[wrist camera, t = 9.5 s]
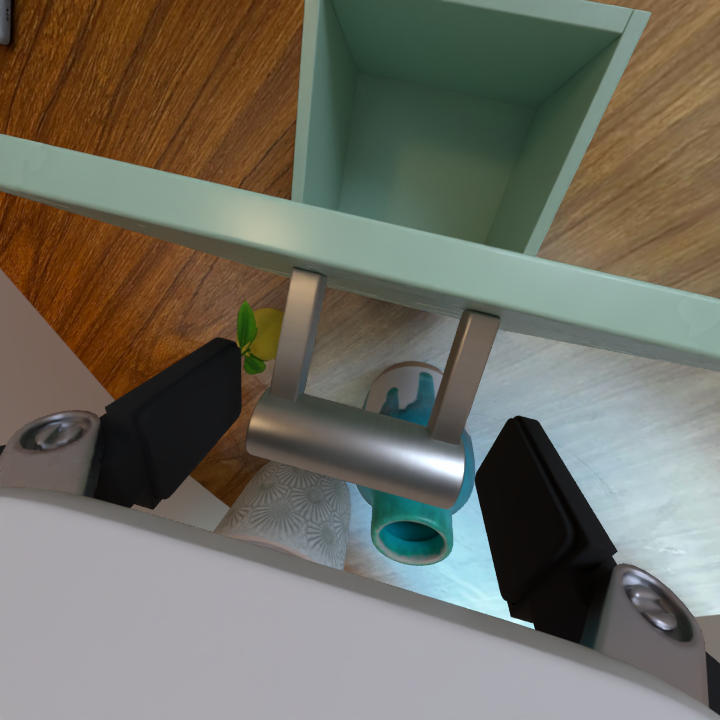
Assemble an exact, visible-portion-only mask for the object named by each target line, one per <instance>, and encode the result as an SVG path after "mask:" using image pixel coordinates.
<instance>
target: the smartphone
mask: <svg viewBox="0 0 720 720" xmlns="http://www.w3.org/2000/svg"><path fill="white" fill-rule="evenodd" d="M10 29H11V0H0V44H3V45H7V44H9V42H10Z"/></svg>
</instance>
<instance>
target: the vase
mask: <svg viewBox="0 0 720 720" xmlns="http://www.w3.org/2000/svg"><path fill="white" fill-rule="evenodd" d="M442 376H443V372H441V371H440V370H439V369H437V368H435V367H434V366H432V365H429V364H426V363H422V362H416V361H407V362H401V363H398V364H395V365H392V366H391V367H389V368H387V369H386V370H384V371H383V372H382V373H381V374H380V375H379V376H378V377H377V378H376V379H375V381H374V382H373V384H372V385H371V387H370V390H369V392H368V394H367V397H366V399H365V402H364V405H363V408H362V409H364V410H367V411H371V412H375V413H379V414H382V415H386V416H390V417H393V418H397V419H401V420H405V421H408V422H412V423H416V424H420V425H423V426H427V425H428V421H429V418H430V415H431V412H432V409H433V405H434V402H435V399H436V396H437V393H438V389H439V386H440V383H441V380H442ZM461 438H462V440H463V443H464V447H465V457H466V463H465V474H464V480H463V484H462V488H461V491H460V494H459V497H458V499H457V501H456V503H455V504H454V505H453V507H451V508H450V509H442V508H439V507H435V506H432V505H428V504H425V503H421V502H417V501H414V500H410V499H407V498H403V497H400V496H396V495H393V494H389V493H386V492H382V491H379V490H375V489H371V488H368V487H364V486H361V485H357V484H356V486H357V488H358V490H359V492H360V493H361V495H362V496H363V498H364V499H365V500H366V501H367V502H368V503H369V504H370V505H371V506H372V521H371V538H372V541H373V544H374V545H375V547H376V548H377V549H378V550H379V551H380V552H381V553H382V554H383V555H385V556H386V557H388V558H390V559H392V560H394V561H397V562H399V563H403V564H408V565H415V566H423V565H431V564H435V563H438V562H440V561H442V560H444V559H445V558H446V557H447V556H448V555H449V554H450V552H451V550H452V547H453V529H452V515H453V514H454V513H456V512H457V511H458V510H460V509H461V508H462V507H463V506H464V504H465V503H466V502H467V501H468V499H469V497H470V495H471V493H472V490H473V486H474V482H475V460H474V452H473V446H472V441H471V436H470V431H469V427H468V423H467V421H466V424H465V427H464V430H463V433H462V436H461Z"/></svg>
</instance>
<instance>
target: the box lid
mask: <svg viewBox="0 0 720 720" xmlns="http://www.w3.org/2000/svg"><path fill="white" fill-rule="evenodd" d="M0 191H2V192H6V193H9V194H12V195H16V196H19V197H22V198H26V199H29V200H32V201H35V202H39V203H42V204H45V205H49V206H52V207H55V208H59V209H62V210H65V211H69V212H72V213H75V214H78V215H82V216H85V217H88V218H92V219H95V220H98V221H102V222H105V223H108V224H112V225H115V226H118V227H122V228H125V229H128V230H131V231H135V232H138V233H141V234H145V235H148V236H151V237H155V238H158V239H161V240H165V241H168V242H171V243H175V244H178V245H181V246H184V247H188V248H191V249H194V250H198V251H201V252H204V253H208V254H211V255H214V256H218V257H221V258H224V259H227V260H231V261H234V262H237V263H241V264H244V265H247V266H251V267H254V268H257V269H261V270H264V271H267V272H271V273H274V274H277V275H280V276H284V277H288V278H290V283H289V289H288V294H287V300H286V305H285V311H284V316H283V322H282V327H281V332H280V338H279V343H278V349H277V354H276V360H275V365H274V371H273V376H272V382H271V387H269V388H268V389H267V390H266V391H265V392H264V393H263V394H262V396H261V397H260V399H259V401H258V403H257V404H256V406H255V409H254V411H253V413H252V416H251V419H250V422H249V426H248V430H247V435H246V449H247V451H248V453H249V454H251V455H255V456H258V457H262V458H265V459H269V460H272V461H276V462H279V463H283V464H286V465H290V466H294V467H297V468H301V469H304V470H308V471H311V472H315V473H318V474H322V475H325V476H329V477H332V478H336V479H340V480H343V481H347V482H350V483H354V484H357V485H361V486H364V487H368V488H371V489H375V490H379V491H382V492H386V493H389V494H393V495H396V496H400V497H403V498H407V499H410V500H414V501H417V502H421V503H425V504H428V505H432V506H435V507H439V508H442V509H450V508H451V507H453V505H454V504H455V503H456V501H457V499H458V497H459V494H460V491H461V488H462V484H463V480H464V474H465V463H466V457H465V447H464V443H463V440H462V438H461V436H462V433H463V430H464V427H465V424H466V421H467V418H468V415H469V412H470V409H471V407H472V404H473V401H474V398H475V395H476V392H477V389H478V386H479V383H480V380H481V377H482V374H483V371H484V368H485V365H486V363H487V360H488V357H489V354H490V351H491V348H492V345H493V342H494V339H495V336H496V333H497V330H498V329H500V330H504V331H510V332H515V333H520V334H525V335H530V336H536V337H541V338H546V339H551V340H556V341H562V342H567V343H572V344H577V345H582V346H588V347H593V348H598V349H603V350H608V351H613V352H619V353H624V354H629V355H634V356H639V357H645V358H650V359H655V360H660V361H665V362H671V363H676V364H681V365H686V366H691V367H697V368H702V369H707V370H712V371H717V372H720V299H718V298H714V297H710V296H705V295H701V294H696V293H692V292H688V291H683V290H679V289H675V288H670V287H666V286H662V285H657V284H653V283H649V282H644V281H640V280H636V279H631V278H627V277H622V276H618V275H614V274H609V273H605V272H601V271H596V270H592V269H588V268H583V267H579V266H575V265H570V264H566V263H562V262H557V261H553V260H548V259H544V258H540V257H535V256H531V255H527V254H522V253H518V252H514V251H509V250H505V249H501V248H496V247H492V246H487V245H483V244H479V243H474V242H470V241H466V240H461V239H457V238H453V237H448V236H444V235H440V234H435V233H431V232H427V231H422V230H418V229H413V228H409V227H405V226H400V225H396V224H392V223H387V222H383V221H379V220H374V219H370V218H366V217H361V216H357V215H352V214H348V213H344V212H339V211H335V210H331V209H326V208H322V207H318V206H313V205H309V204H305V203H300V202H296V201H292V200H287V199H283V198H278V197H274V196H270V195H265V194H261V193H257V192H252V191H248V190H244V189H239V188H235V187H231V186H226V185H222V184H218V183H213V182H209V181H204V180H200V179H196V178H191V177H187V176H183V175H178V174H174V173H170V172H165V171H161V170H157V169H152V168H148V167H143V166H139V165H135V164H130V163H126V162H122V161H117V160H113V159H109V158H104V157H100V156H96V155H91V154H87V153H83V152H78V151H74V150H69V149H65V148H61V147H56V146H52V145H48V144H43V143H39V142H35V141H30V140H26V139H22V138H17V137H13V136H8V135H4V134H0ZM326 287H329V288H333V289H337V290H341V291H345V292H349V293H353V294H357V295H361V296H366V297H370V298H374V299H378V300H382V301H386V302H390V303H394V304H398V305H402V306H406V307H410V308H414V309H419V310H423V311H427V312H431V313H435V314H439V315H443V316H447V317H451V318H455V319H459V320H460V322H459V325H458V328H457V332H456V335H455V338H454V341H453V344H452V348H451V351H450V354H449V357H448V360H447V364H446V367H445V370H444V373H443V376H442V380H441V383H440V386H439V389H438V393H437V396H436V399H435V402H434V405H433V409H432V412H431V415H430V418H429V421H428V425H427V426H423V425H420V424H416V423H412V422H408V421H405V420H401V419H397V418H393V417H390V416H386V415H382V414H379V413H375V412H371V411H367V410H364V409H360V408H356V407H352V406H349V405H345V404H341V403H337V402H334V401H330V400H326V399H322V398H319V397H315V396H311V395H307V394H304V390H305V385H306V380H307V375H308V370H309V366H310V361H311V356H312V351H313V347H314V342H315V337H316V332H317V328H318V323H319V318H320V313H321V308H322V304H323V299H324V294H325V289H326Z"/></svg>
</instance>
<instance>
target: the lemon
mask: <svg viewBox="0 0 720 720" xmlns="http://www.w3.org/2000/svg"><path fill="white" fill-rule="evenodd" d="M283 316H284V312H282V311H281V310H278V309H275V308H261V309H258V310H255V311H252V309H251V307H250V306H249V304H248V303H247V301H246V300H245V301H244V303H243V304H242V305H241V308H240V310H239V313H238V320H237V336H236V341H237V345H238V347H240V349H241V352H242V353H241V357H242V356H243V355H244V356H245V362H244V369H245V371H246V372H247V373H248V374H258V373H262V372H263V371H264V370H265V368H266V364H265V363H264V361H269V360H272V359H275V358H276V354H277V349H278V343H279V338H280V332H281V327H282V322H283Z"/></svg>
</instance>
